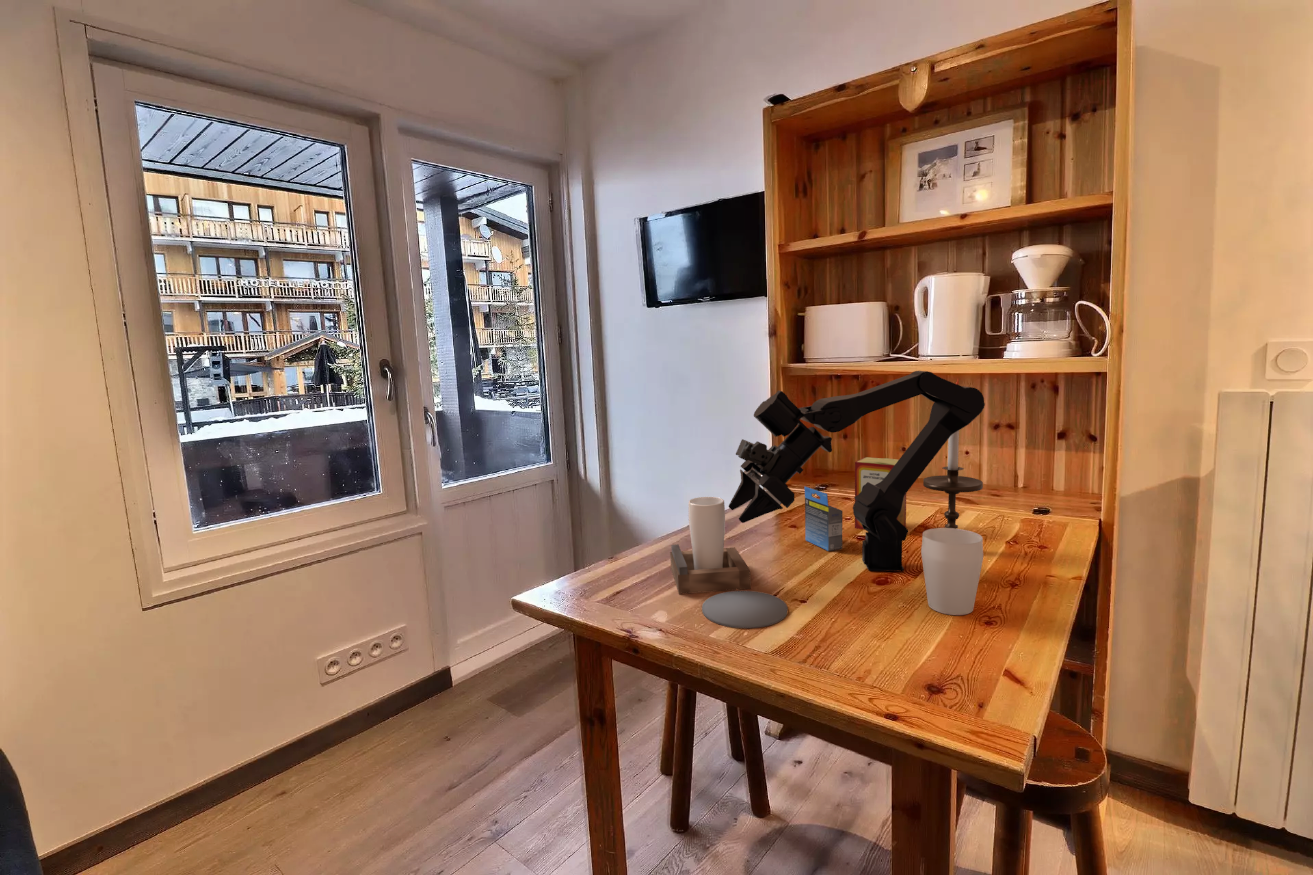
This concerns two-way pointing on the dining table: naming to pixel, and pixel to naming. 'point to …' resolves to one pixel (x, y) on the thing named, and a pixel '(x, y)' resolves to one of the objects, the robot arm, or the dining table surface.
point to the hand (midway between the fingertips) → (735, 514)
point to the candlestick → (952, 481)
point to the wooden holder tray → (709, 572)
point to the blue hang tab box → (822, 521)
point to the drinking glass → (707, 531)
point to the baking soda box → (875, 479)
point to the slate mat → (744, 609)
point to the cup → (951, 569)
